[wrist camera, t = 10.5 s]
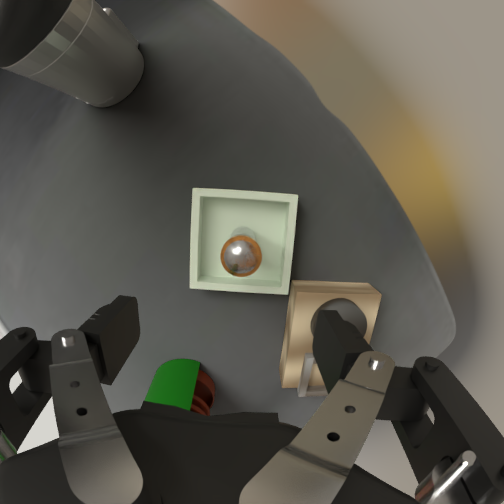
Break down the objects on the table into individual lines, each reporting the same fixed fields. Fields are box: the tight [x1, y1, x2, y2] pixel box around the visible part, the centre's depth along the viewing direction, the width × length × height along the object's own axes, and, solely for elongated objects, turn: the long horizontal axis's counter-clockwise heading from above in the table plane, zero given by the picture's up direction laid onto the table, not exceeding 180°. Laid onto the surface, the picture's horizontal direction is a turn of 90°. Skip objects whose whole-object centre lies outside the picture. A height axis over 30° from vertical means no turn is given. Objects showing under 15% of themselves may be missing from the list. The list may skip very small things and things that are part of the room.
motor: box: [144, 359, 215, 416], centre depth 26 cm, size 10×9×20 cm
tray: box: [190, 188, 298, 295], centre depth 30 cm, size 11×11×3 cm
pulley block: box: [279, 280, 382, 397], centre depth 31 cm, size 14×10×7 cm
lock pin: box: [220, 226, 262, 277], centre depth 27 cm, size 3×3×8 cm
